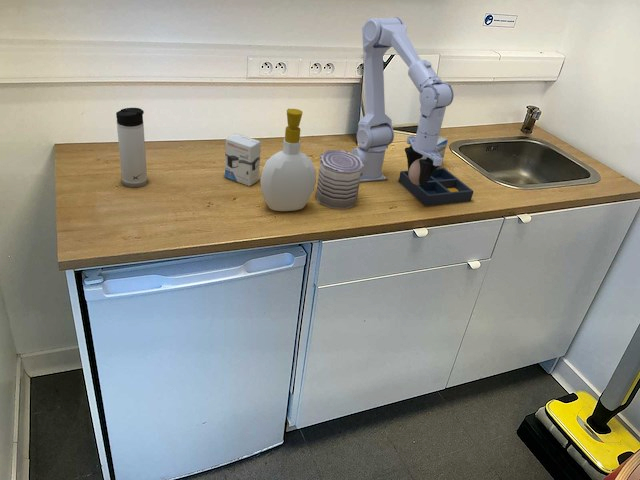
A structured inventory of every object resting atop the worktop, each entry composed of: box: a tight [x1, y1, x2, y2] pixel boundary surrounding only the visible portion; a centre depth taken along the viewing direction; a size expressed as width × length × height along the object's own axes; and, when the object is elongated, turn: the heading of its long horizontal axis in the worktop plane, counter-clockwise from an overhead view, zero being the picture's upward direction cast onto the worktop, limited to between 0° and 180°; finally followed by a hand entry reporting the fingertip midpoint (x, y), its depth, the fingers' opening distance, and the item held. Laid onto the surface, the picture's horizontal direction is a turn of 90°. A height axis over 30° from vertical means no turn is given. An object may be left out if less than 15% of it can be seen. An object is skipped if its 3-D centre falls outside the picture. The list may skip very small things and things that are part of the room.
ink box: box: [224, 133, 262, 187], centre depth 149 cm, size 8×5×12 cm, turn 62°
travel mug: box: [115, 107, 148, 188], centre depth 138 cm, size 6×7×20 cm
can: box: [315, 149, 364, 210], centre depth 145 cm, size 11×11×12 cm
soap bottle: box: [259, 108, 317, 212], centre depth 135 cm, size 14×9×26 cm, turn 108°
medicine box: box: [421, 135, 449, 163], centre depth 172 cm, size 8×4×9 cm, turn 143°
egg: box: [408, 159, 421, 185], centre depth 145 cm, size 5×5×7 cm
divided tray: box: [398, 167, 475, 207], centre depth 158 cm, size 15×15×3 cm
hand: (417, 178), depth 146 cm, fingers closed on egg, 5 cm apart
